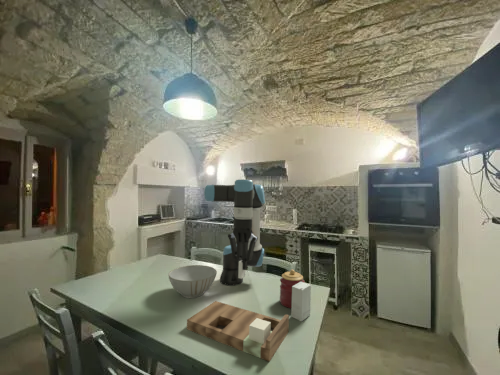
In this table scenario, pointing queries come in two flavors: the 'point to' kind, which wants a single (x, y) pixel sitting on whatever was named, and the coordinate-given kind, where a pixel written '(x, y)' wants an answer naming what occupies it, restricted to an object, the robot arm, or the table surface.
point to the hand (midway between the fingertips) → (241, 277)
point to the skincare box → (301, 301)
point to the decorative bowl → (192, 279)
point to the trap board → (238, 328)
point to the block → (259, 330)
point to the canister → (288, 287)
